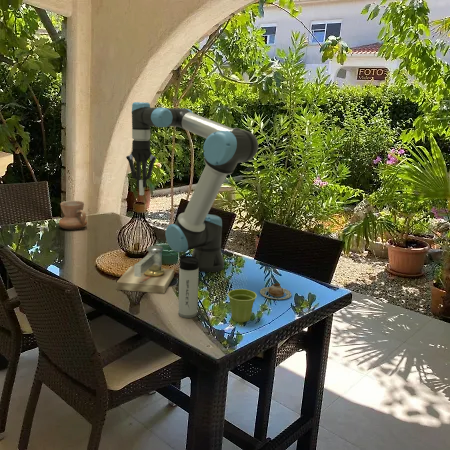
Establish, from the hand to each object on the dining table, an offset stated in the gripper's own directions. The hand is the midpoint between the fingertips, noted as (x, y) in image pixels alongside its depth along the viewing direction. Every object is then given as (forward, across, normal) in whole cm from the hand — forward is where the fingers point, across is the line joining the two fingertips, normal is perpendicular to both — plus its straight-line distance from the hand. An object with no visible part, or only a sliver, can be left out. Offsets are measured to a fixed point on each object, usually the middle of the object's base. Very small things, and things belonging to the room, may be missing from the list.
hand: (141, 194), depth 201 cm
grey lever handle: (+26, -11, +32) cm, 43 cm away
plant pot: (+30, -47, +53) cm, 77 cm away
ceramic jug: (+28, +49, -41) cm, 70 cm away
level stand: (+29, -9, +28) cm, 42 cm away
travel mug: (+30, -29, +53) cm, 68 cm away
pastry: (+31, -59, +30) cm, 73 cm away
